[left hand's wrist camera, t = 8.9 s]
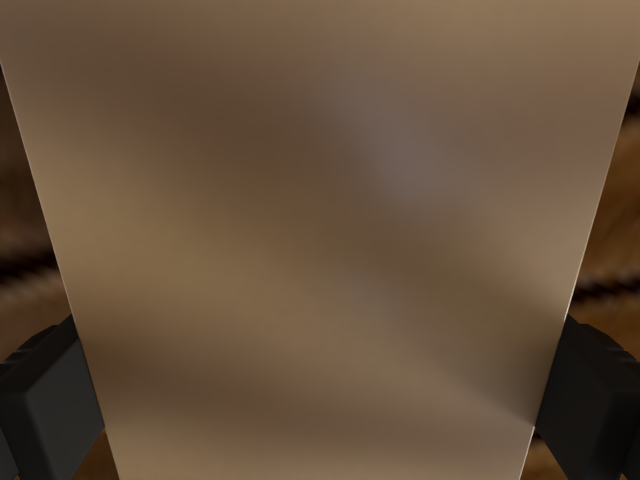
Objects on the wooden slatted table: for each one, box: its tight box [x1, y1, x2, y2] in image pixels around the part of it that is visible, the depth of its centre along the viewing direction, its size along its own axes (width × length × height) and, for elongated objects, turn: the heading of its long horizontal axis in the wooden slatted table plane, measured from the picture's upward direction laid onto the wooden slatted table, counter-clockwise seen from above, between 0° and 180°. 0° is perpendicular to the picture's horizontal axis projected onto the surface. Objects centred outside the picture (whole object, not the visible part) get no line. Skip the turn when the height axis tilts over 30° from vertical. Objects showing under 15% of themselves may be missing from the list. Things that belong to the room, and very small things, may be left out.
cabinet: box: [0, 0, 640, 480], centre depth 11 cm, size 20×11×9 cm, turn 0°
